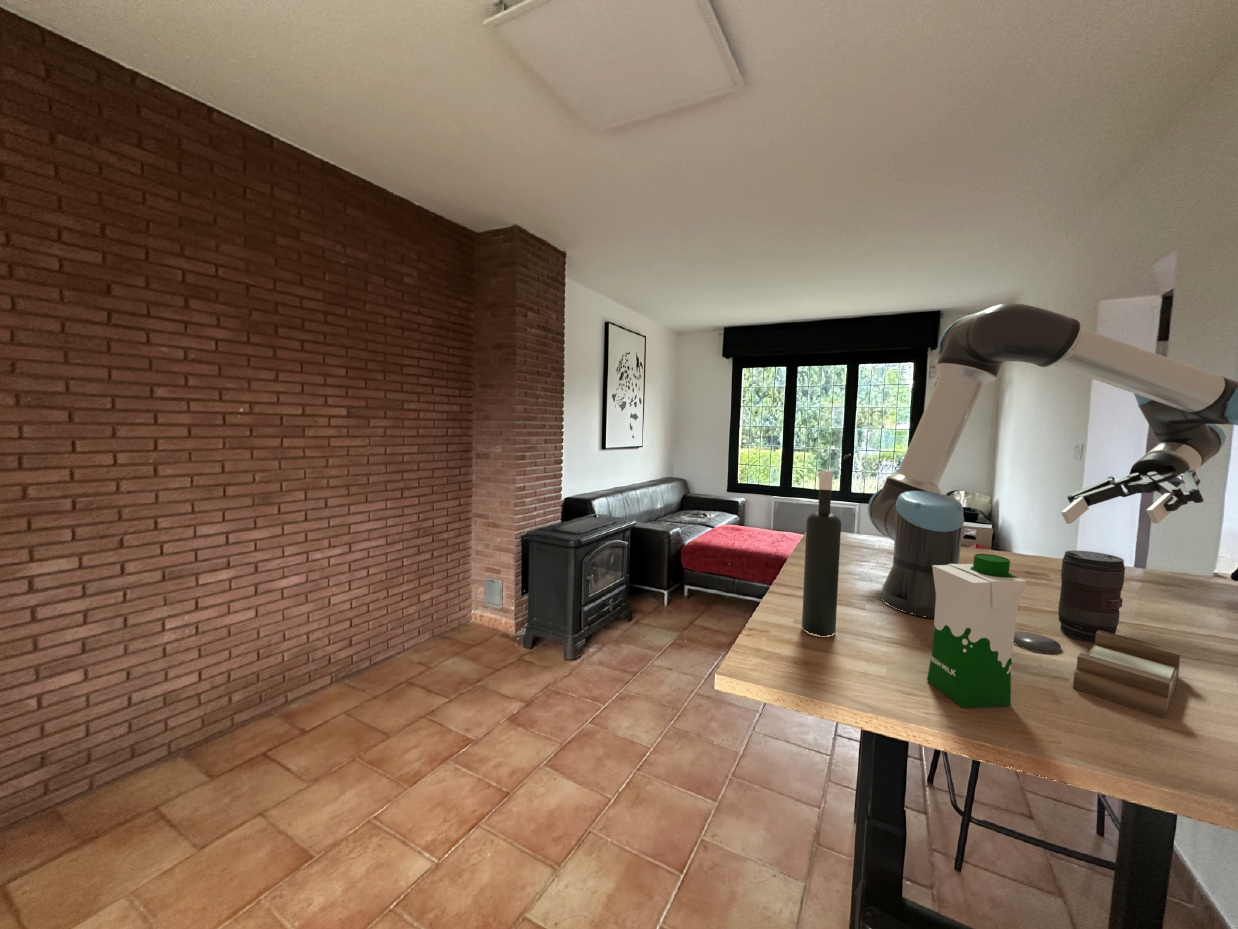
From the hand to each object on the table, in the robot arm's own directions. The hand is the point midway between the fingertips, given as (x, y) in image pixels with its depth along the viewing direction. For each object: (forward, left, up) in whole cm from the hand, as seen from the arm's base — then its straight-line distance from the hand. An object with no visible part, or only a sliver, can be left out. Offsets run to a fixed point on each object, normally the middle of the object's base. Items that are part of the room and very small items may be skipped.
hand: (1105, 517), depth 93 cm
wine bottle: (-50, -28, -21) cm, 61 cm away
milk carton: (-30, -41, -21) cm, 55 cm away
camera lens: (-5, -10, -21) cm, 23 cm away
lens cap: (-15, -18, -21) cm, 31 cm away
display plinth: (-7, -28, -20) cm, 35 cm away
